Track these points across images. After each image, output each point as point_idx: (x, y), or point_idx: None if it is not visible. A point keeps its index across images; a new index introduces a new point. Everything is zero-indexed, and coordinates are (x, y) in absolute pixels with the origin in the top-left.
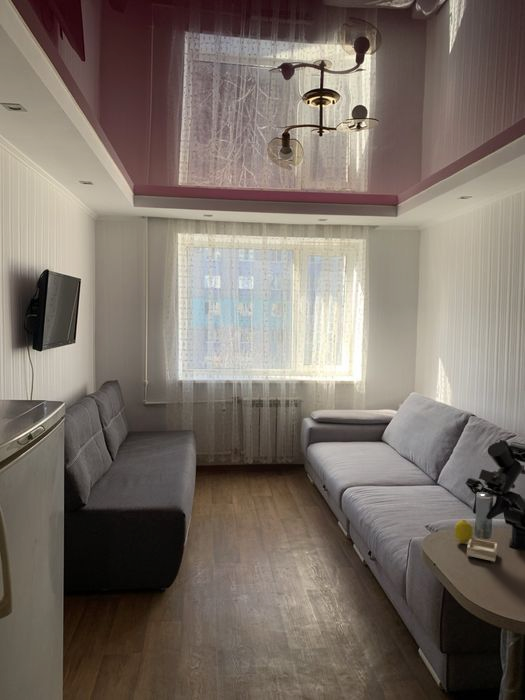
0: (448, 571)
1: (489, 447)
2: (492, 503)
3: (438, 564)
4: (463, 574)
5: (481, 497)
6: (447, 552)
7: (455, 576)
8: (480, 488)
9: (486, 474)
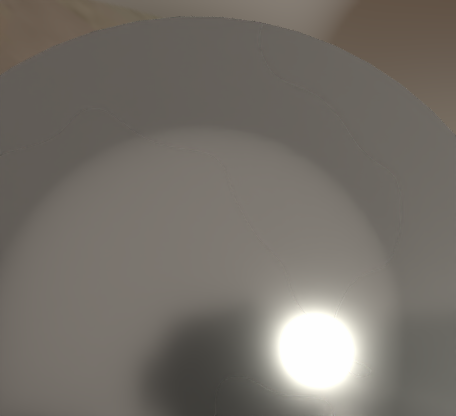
0: (61, 9)
1: None
2: None
3: (140, 13)
4: (10, 54)
5: (82, 62)
6: None
7: (5, 5)
8: None
9: None
